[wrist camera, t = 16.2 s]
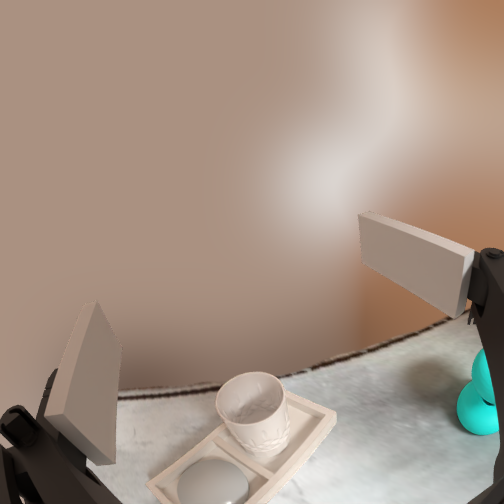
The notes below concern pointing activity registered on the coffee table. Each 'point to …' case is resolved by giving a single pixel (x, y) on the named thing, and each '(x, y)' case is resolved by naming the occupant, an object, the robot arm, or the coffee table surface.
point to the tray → (254, 468)
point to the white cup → (255, 412)
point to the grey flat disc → (213, 484)
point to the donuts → (478, 400)
